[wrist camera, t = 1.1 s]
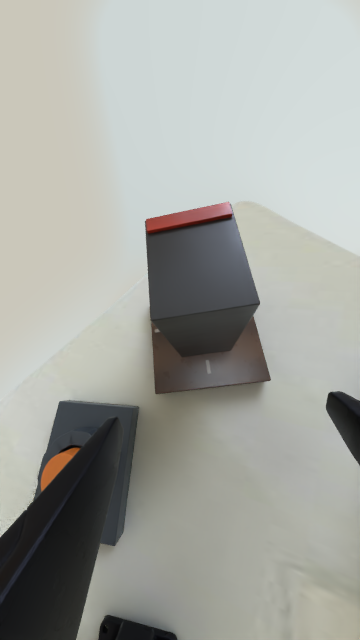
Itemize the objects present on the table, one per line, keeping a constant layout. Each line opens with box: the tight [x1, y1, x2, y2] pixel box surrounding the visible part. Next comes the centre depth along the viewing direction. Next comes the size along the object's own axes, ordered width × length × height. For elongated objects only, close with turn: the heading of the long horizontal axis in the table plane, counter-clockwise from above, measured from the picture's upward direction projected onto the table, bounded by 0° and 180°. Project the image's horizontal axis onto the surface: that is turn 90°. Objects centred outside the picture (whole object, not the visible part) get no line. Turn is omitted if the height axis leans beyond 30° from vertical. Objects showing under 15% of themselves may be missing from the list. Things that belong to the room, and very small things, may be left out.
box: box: [145, 202, 260, 357], centre depth 16 cm, size 7×6×12 cm
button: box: [41, 448, 80, 491], centre depth 16 cm, size 4×4×2 cm
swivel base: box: [151, 316, 271, 394], centre depth 22 cm, size 13×12×2 cm
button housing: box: [34, 400, 139, 546], centre depth 19 cm, size 11×9×4 cm
